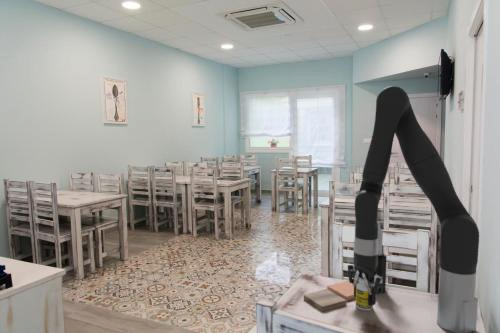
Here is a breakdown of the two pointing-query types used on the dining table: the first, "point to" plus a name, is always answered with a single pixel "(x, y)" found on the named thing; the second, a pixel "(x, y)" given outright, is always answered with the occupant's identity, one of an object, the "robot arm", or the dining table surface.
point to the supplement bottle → (362, 295)
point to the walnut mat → (325, 300)
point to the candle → (381, 258)
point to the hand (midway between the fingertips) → (364, 301)
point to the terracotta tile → (343, 290)
